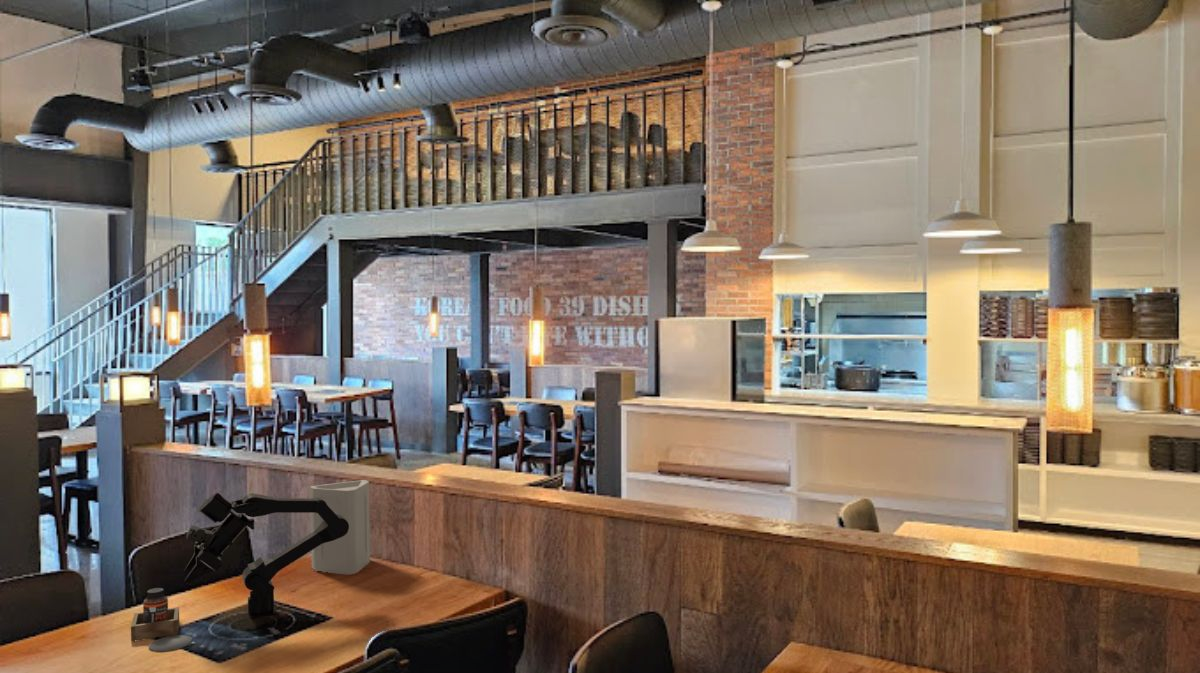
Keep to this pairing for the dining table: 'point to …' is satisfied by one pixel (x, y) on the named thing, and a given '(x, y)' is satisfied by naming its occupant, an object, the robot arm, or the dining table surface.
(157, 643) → the rubber mat
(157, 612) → the supplement bottle
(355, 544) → the grey rounded wastebasket
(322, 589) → the dining table surface
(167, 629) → the walnut box
